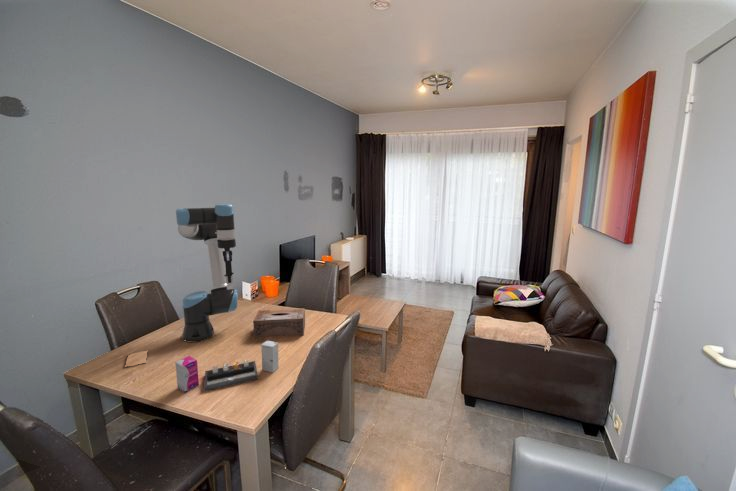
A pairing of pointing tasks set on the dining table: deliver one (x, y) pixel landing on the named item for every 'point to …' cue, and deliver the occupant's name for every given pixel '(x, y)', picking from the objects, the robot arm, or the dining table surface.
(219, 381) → the breaker panel
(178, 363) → the supplement box
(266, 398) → the dining table surface
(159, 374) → the dining table surface
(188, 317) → the robot arm
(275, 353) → the skincare box
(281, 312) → the tissue box cover
